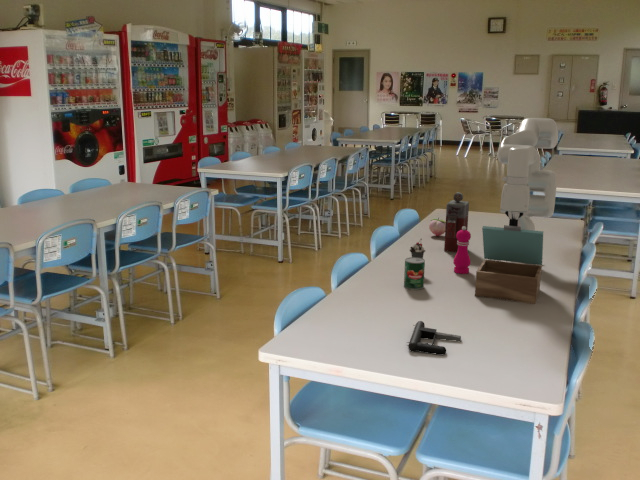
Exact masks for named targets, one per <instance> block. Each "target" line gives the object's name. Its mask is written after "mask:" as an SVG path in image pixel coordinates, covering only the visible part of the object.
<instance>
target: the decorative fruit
mask: <svg viewBox="0 0 640 480" xmlns="http://www.w3.org/2000/svg"><path fill="white" fill-rule="evenodd" d="M428 226H429V227H428V228H429V231H430V232H431V233H432V234H434V235H435V236H437V237H439V236H442V235H445V226H446V220H445V219H440V217H438V218H432V219H431V220H430V223H429V225H428Z"/></svg>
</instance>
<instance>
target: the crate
mask: <svg viewBox="0 0 640 480" xmlns="http://www.w3.org/2000/svg"><path fill="white" fill-rule="evenodd" d="M542 269H543V265H531V264H521V263H512V262H506V261H498V260H489V259H484V258H483V261H482V262H481V264H480V266H479V267H478V269H477V270H476V271H475V272H476V275H475V288H474V289H475V290H474V297H480V298H487V299H494V300H501V301H508V302H509V301H510V302H519V303H525V304H534V305H536V302H537V300H538V296H539V293H540V290H541V282H542V281H541V280H542Z"/></svg>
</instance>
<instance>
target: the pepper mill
mask: <svg viewBox="0 0 640 480" xmlns="http://www.w3.org/2000/svg"><path fill="white" fill-rule="evenodd" d="M456 238H457V239H458V241H457V244H458V251H457V252H456V254H455V256H454V258H453V266H454V268H453V272H454V273H456V274H458V273H459V274H460V275H466V274H469V273H470V268H469V267H470V265H471V257H470V254H469V252H468V248H469V246H470V240H471V238H472V235H471V232H470V231H469V230H468V229H467V230H466V227H465V226H463V227H462V230H460V231H458V232H457V235H456Z"/></svg>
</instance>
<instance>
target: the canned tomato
mask: <svg viewBox="0 0 640 480" xmlns="http://www.w3.org/2000/svg"><path fill="white" fill-rule="evenodd" d="M425 262H426V260H425V258H423V259H422V258H417V257H412V256H410V257H406V258H405V259H404V277H403V287H404V288H405V289H407V290H412V291H413V290H416V291H417V290H418V291H419V290H421V289H424V286H425V284H424V283H425V267H426V263H425Z"/></svg>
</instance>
